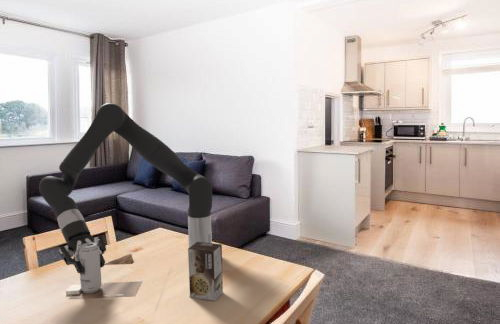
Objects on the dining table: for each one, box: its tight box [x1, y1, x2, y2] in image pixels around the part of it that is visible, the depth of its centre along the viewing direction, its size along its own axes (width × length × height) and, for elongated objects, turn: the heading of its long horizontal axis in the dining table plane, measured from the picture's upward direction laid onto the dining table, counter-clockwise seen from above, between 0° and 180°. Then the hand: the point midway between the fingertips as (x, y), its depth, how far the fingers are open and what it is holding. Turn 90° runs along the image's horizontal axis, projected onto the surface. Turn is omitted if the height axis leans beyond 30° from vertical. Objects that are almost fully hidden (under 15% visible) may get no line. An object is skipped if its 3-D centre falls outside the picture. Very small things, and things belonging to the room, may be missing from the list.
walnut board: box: [68, 280, 143, 300], centre depth 111 cm, size 20×10×1 cm, turn 94°
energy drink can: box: [79, 241, 102, 293], centre depth 110 cm, size 6×6×15 cm
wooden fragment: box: [104, 253, 134, 266], centre depth 131 cm, size 26×11×1 cm, turn 167°
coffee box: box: [187, 242, 224, 302], centre depth 109 cm, size 9×6×16 cm
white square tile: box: [65, 284, 82, 296], centre depth 110 cm, size 4×4×1 cm
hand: (93, 269), depth 109 cm, fingers closed on energy drink can, 6 cm apart
